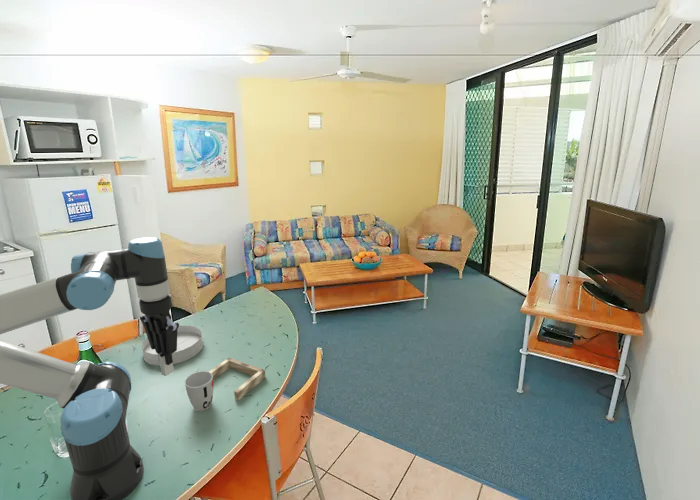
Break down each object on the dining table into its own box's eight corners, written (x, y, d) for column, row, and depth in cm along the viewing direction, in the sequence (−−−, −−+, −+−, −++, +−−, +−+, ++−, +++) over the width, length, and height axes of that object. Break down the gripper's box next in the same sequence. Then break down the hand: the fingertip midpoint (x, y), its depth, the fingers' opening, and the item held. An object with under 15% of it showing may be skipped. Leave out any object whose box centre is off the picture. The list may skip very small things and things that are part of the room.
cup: (207, 416, 113) (203, 389, 110) (183, 412, 114) (178, 385, 111) (220, 398, 120) (217, 372, 118) (198, 395, 122) (194, 369, 119)
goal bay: (238, 400, 120) (237, 392, 119) (201, 385, 127) (200, 377, 126) (265, 377, 131) (264, 369, 130) (229, 364, 139) (228, 357, 138)
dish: (166, 373, 134) (164, 361, 133) (131, 355, 145) (128, 344, 143) (215, 344, 152) (214, 333, 151) (180, 330, 163) (179, 320, 161)
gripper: (183, 295, 97) (195, 371, 104) (151, 286, 103) (164, 359, 110) (158, 306, 91) (172, 387, 98) (125, 296, 97) (140, 373, 104)
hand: (167, 372), depth 104 cm, fingers closed
